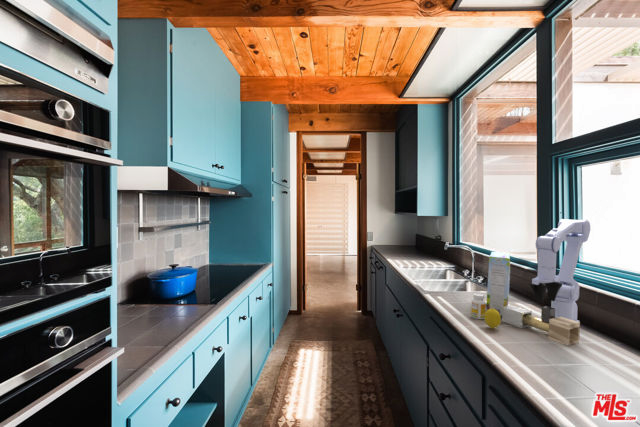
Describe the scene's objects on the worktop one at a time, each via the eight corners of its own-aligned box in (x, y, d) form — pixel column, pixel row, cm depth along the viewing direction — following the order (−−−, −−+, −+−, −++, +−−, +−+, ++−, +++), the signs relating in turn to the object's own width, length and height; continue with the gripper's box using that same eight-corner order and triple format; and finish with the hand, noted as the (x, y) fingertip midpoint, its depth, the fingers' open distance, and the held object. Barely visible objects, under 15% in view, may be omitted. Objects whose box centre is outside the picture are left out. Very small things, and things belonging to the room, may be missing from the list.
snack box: (508, 318, 132) (510, 258, 131) (485, 314, 136) (487, 256, 136) (508, 305, 150) (510, 252, 150) (488, 302, 155) (490, 250, 154)
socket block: (560, 335, 114) (560, 316, 114) (579, 342, 109) (579, 322, 109) (548, 338, 112) (549, 319, 111) (567, 345, 106) (568, 325, 106)
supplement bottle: (484, 316, 134) (484, 293, 134) (486, 320, 129) (487, 297, 129) (470, 314, 136) (470, 292, 136) (472, 318, 131) (472, 295, 130)
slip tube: (522, 321, 126) (523, 299, 125) (569, 337, 110) (570, 312, 110) (516, 322, 124) (516, 300, 124) (562, 339, 109) (563, 313, 109)
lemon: (502, 332, 117) (503, 311, 116) (486, 330, 118) (487, 309, 117) (497, 326, 122) (498, 306, 122) (482, 325, 123) (482, 305, 123)
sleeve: (511, 319, 131) (512, 305, 131) (531, 326, 123) (531, 311, 123) (502, 321, 128) (502, 306, 128) (521, 328, 121) (522, 312, 121)
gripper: (546, 269, 115) (545, 306, 115) (569, 267, 121) (567, 302, 121) (527, 266, 121) (525, 300, 122) (549, 264, 127) (548, 297, 128)
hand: (545, 301), depth 122 cm, fingers open, 7 cm apart
